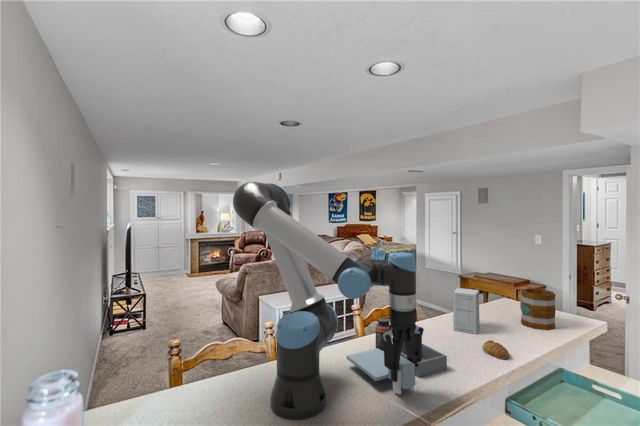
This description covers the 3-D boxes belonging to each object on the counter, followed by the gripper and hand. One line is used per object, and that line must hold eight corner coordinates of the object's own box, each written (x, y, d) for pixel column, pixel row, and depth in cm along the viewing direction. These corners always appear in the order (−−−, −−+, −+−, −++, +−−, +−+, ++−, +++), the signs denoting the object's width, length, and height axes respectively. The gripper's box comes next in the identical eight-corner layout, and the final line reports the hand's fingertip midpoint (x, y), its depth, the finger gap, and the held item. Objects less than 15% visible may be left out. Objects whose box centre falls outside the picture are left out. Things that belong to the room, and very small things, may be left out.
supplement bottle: (391, 353, 125) (391, 322, 125) (375, 352, 126) (375, 321, 126) (391, 347, 131) (391, 317, 131) (375, 345, 132) (375, 316, 132)
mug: (563, 330, 147) (563, 295, 147) (531, 330, 147) (531, 295, 147) (535, 315, 167) (535, 285, 166) (507, 315, 167) (507, 285, 167)
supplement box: (480, 328, 150) (480, 289, 150) (476, 334, 143) (477, 294, 142) (457, 324, 156) (457, 287, 155) (452, 330, 148) (452, 291, 147)
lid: (391, 392, 92) (390, 370, 92) (346, 358, 113) (346, 340, 113) (426, 381, 98) (426, 360, 98) (377, 351, 119) (377, 334, 119)
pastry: (515, 359, 120) (515, 348, 120) (498, 361, 118) (498, 350, 118) (495, 348, 129) (495, 338, 129) (480, 350, 127) (479, 340, 127)
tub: (418, 379, 106) (418, 363, 106) (386, 359, 120) (386, 344, 120) (446, 371, 111) (446, 355, 111) (413, 352, 126) (413, 338, 126)
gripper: (386, 315, 90) (387, 404, 90) (435, 306, 97) (435, 388, 98) (369, 308, 96) (370, 390, 97) (416, 300, 104) (417, 377, 104)
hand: (403, 389), depth 97 cm, fingers closed on lid, 4 cm apart
